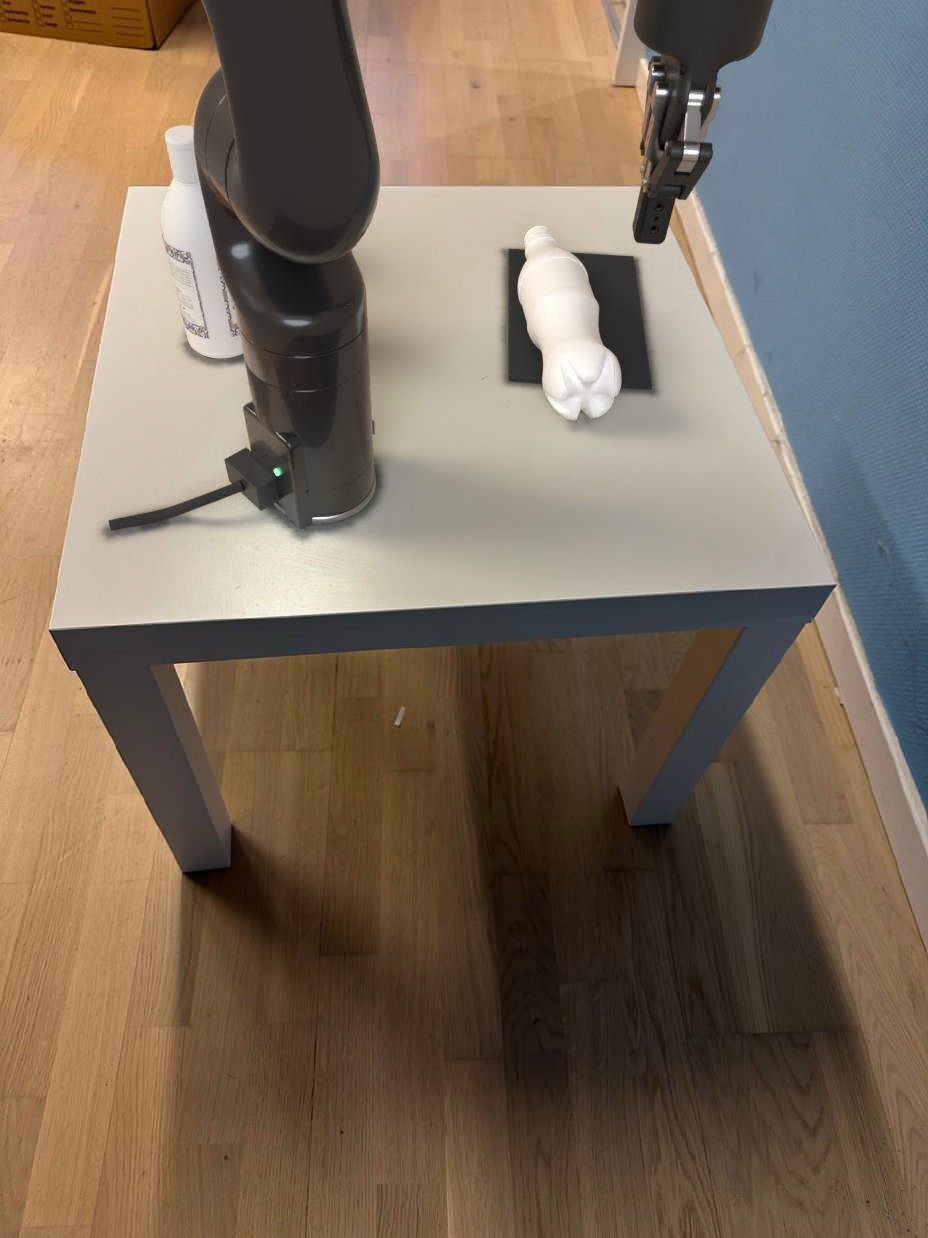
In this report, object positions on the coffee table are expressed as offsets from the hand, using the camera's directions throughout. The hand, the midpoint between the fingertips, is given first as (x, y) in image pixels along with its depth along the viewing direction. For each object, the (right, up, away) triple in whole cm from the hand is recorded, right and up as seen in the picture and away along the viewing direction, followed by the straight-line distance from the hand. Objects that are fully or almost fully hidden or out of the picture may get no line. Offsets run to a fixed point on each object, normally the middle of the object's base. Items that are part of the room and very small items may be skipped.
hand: (647, 237), depth 63 cm
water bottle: (-2, -7, +17) cm, 19 cm away
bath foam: (-37, +1, +26) cm, 45 cm away
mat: (-1, +5, +31) cm, 31 cm away
